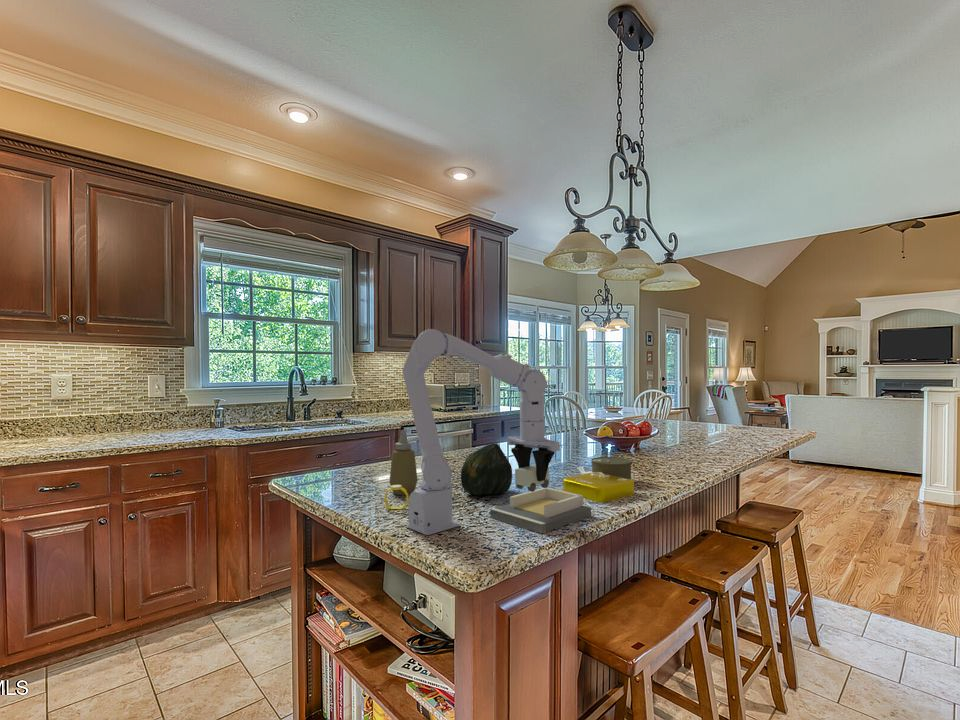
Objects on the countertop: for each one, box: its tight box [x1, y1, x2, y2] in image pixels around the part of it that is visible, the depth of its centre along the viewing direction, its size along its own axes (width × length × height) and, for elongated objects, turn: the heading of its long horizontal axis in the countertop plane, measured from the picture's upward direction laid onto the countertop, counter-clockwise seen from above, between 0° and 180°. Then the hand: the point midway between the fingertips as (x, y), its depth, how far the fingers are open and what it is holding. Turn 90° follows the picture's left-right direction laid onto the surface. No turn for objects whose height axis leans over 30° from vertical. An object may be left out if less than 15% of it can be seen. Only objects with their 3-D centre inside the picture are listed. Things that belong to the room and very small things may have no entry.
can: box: [591, 456, 632, 479], centre depth 147 cm, size 12×12×7 cm
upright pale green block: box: [514, 464, 550, 492], centre depth 110 cm, size 7×4×5 cm, turn 132°
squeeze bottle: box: [389, 429, 418, 496], centre depth 136 cm, size 8×8×18 cm
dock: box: [489, 487, 592, 534], centre depth 113 cm, size 18×16×4 cm
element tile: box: [562, 471, 635, 503], centre depth 134 cm, size 15×15×5 cm
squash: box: [460, 443, 513, 497], centre depth 135 cm, size 14×15×15 cm
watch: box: [384, 485, 410, 510], centre depth 120 cm, size 6×3×6 cm, turn 93°
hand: (533, 478), depth 110 cm, fingers closed on upright pale green block, 4 cm apart
